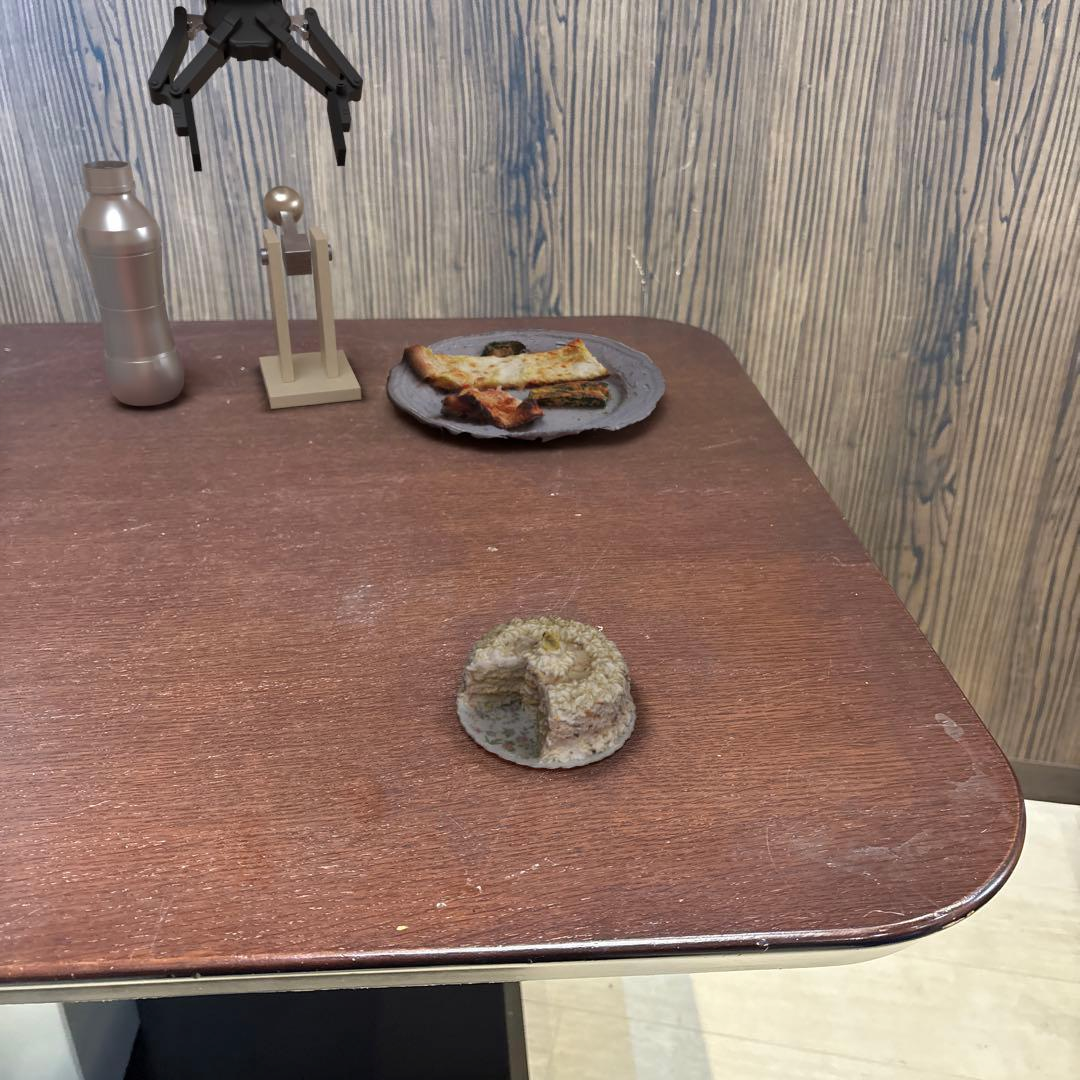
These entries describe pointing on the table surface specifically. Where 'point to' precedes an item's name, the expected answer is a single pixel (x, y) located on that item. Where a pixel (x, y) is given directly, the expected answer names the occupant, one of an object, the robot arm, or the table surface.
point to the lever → (289, 228)
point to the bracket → (328, 369)
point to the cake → (546, 693)
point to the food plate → (525, 384)
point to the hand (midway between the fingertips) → (271, 160)
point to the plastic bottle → (128, 287)
